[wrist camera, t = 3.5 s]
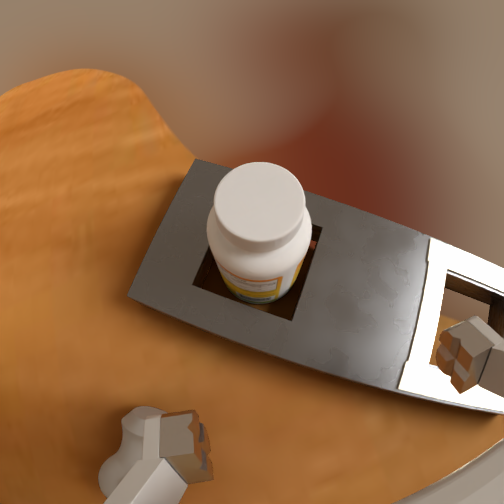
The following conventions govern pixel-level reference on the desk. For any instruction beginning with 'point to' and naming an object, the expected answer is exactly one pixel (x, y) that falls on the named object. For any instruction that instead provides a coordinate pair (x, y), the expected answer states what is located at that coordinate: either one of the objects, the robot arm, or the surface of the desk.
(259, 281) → the supplement bottle
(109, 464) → the white lumpy figurine
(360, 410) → the desk surface
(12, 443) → the desk surface
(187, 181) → the rail plate
